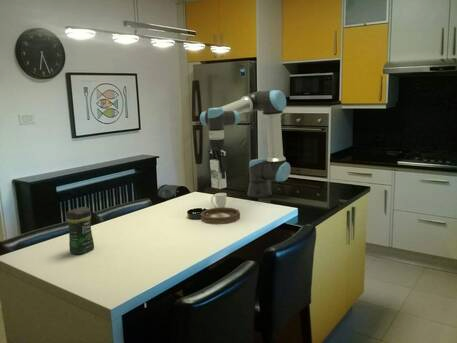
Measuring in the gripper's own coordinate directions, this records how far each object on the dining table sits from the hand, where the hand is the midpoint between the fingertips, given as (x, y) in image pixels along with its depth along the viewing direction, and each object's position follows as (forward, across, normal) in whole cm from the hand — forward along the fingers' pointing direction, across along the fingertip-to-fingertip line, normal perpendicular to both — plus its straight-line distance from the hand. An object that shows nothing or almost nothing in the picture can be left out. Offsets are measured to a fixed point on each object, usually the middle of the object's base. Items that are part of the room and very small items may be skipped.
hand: (218, 183), depth 207 cm
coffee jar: (+19, 0, -70) cm, 72 cm away
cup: (+18, -18, +11) cm, 28 cm away
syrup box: (+2, 0, 0) cm, 2 cm away
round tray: (+18, 0, 0) cm, 18 cm away
